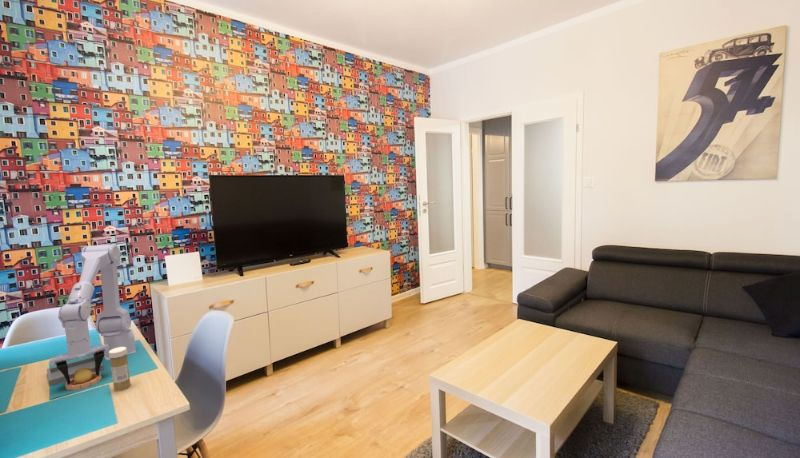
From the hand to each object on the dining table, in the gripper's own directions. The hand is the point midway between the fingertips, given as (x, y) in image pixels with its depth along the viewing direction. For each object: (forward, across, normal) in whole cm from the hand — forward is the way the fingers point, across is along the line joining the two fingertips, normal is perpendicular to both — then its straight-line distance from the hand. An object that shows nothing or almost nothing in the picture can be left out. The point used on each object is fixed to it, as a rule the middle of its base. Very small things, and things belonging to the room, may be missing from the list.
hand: (83, 378), depth 123 cm
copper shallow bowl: (+2, 0, 0) cm, 2 cm away
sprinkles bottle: (+2, +8, -14) cm, 16 cm away
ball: (+2, 0, 0) cm, 2 cm away
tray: (+2, -1, +12) cm, 12 cm away
